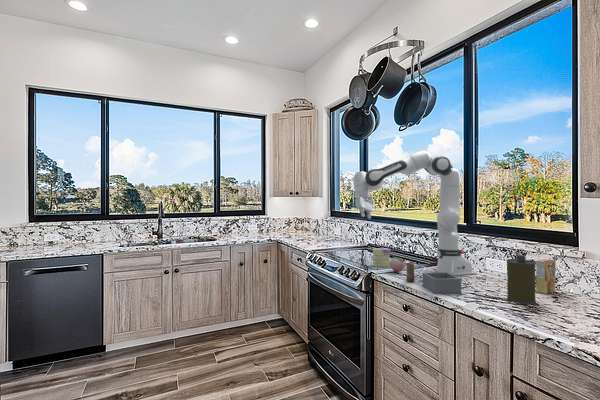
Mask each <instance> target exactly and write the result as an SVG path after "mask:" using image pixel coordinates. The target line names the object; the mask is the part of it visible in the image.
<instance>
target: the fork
mask: <svg viewBox="0 0 600 400" xmlns="http://www.w3.org/2000/svg"><path fill="white" fill-rule="evenodd" d="M404 262H405V264H407V263H411V262H410V261H409V260H404ZM416 265H418V264H416V263H414V266H416ZM423 267H424V268H423V269H426V267H425V266H423Z"/></svg>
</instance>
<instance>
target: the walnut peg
mask: <svg viewBox="0 0 600 400" xmlns="http://www.w3.org/2000/svg"><path fill="white" fill-rule="evenodd" d="M414 264H415V263H414V262H410V263H406V283H410V284H411V283H415V265H414Z"/></svg>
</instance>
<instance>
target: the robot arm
mask: <svg viewBox="0 0 600 400" xmlns="http://www.w3.org/2000/svg"><path fill="white" fill-rule="evenodd" d="M422 169H424V171H426V172H427V173H428V174H429V175H430V176H438V177H440V186H439V188H440V189H439V211H438V212H437V215H436V221H437V237H438V241H437V242H438V244H437V245H438V248H437V264H436V265H437V266H436V269H435V272H436V273H437V272H448V273H450V274H452V275H454V276H466V275H476V274H478V273H477V271H476V270H475V269H473V265H472V263H471V262H470V260H468V259H466V258H465V257H464V256H462V255H464V254H465V252H466V251H465V250H462V249H461V250H460V249H459V234H458V224H459V223H460V219H461V218H460V217H461V214H460V213H461V211H460V209H461V208H460V207H461V206H460V195H461V175H460V174H461V173H460V171H459V170H457V169H456V168H454V167H453V165H452V163H451V160H450V159H449V158H448V157H447V156H445V155H438V156H434V157H432V156H431V155H430V153H429V152H428V151H426V150H420V151H417V152H415V153H412V154H409V155H407V156H406V157H404V158H402V159H400V160H398V161H395V162H393V163H390V164H387V165H385V166H383V167H381V168H372V169H369V170H368V171H367V172H366V171H357V172H355V174H354V175H353V188H354V194H355V199H354V202H355V208H356V209H357V210H359V213H360V215H361V217H363V218H364V217H367V219H371V218H372V216H371V215H372V213H373V212H374V203H373V196H372V195H371V192H370V191H377V190H380V189H381V188H382V186H383V180H384V179H386V178H388V177H390V176H393V175H395V174H403V175H404V176H407V175H410V174H414V173H416V172H418V171H421V170H422ZM365 212H366V213H367V216H366V213H365Z"/></svg>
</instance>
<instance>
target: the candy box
mask: <svg viewBox="0 0 600 400" xmlns="http://www.w3.org/2000/svg"><path fill="white" fill-rule="evenodd" d="M535 263H536V264H535V293H540V294H545V295H546V294H550V293H554V292H556V260H555V259H550V258H544V259H536V261H535Z"/></svg>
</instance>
